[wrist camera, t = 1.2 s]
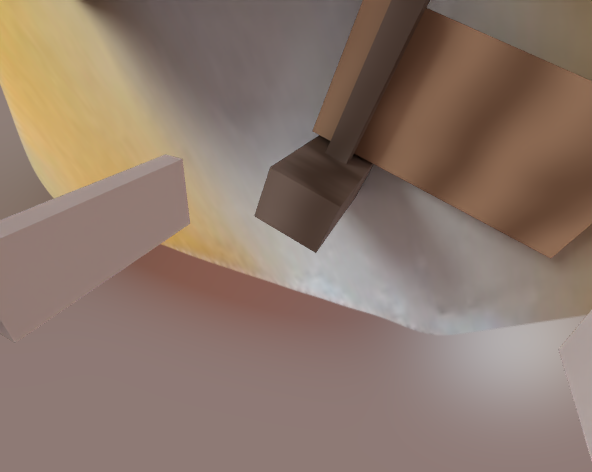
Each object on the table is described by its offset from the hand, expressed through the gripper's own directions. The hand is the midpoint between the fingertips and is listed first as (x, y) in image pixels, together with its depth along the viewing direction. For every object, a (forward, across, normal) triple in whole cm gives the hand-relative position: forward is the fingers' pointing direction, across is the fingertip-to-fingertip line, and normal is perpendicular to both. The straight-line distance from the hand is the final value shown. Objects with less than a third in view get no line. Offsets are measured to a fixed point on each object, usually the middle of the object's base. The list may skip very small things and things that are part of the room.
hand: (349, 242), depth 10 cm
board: (+19, +3, 0) cm, 19 cm away
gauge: (+18, -4, 0) cm, 19 cm away
